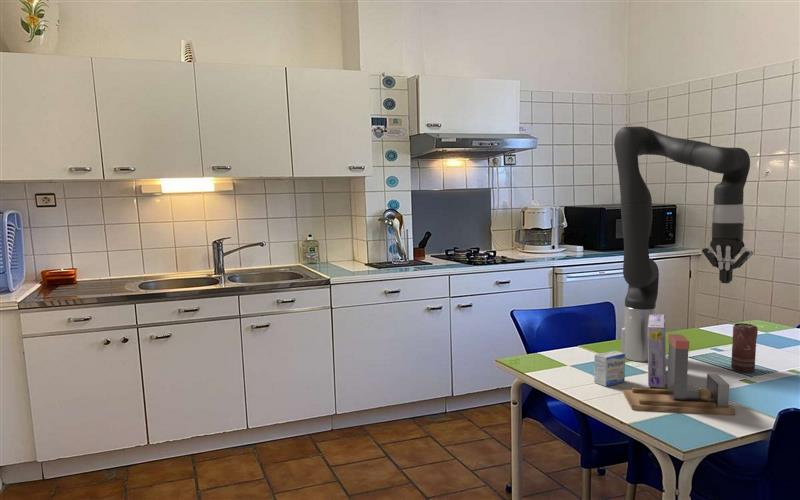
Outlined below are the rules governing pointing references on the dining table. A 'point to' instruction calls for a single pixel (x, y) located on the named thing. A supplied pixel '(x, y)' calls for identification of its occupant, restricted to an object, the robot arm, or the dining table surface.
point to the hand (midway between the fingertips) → (725, 282)
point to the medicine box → (609, 368)
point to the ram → (679, 370)
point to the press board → (670, 403)
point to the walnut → (704, 394)
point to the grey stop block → (718, 390)
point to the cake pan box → (656, 351)
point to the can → (744, 347)
